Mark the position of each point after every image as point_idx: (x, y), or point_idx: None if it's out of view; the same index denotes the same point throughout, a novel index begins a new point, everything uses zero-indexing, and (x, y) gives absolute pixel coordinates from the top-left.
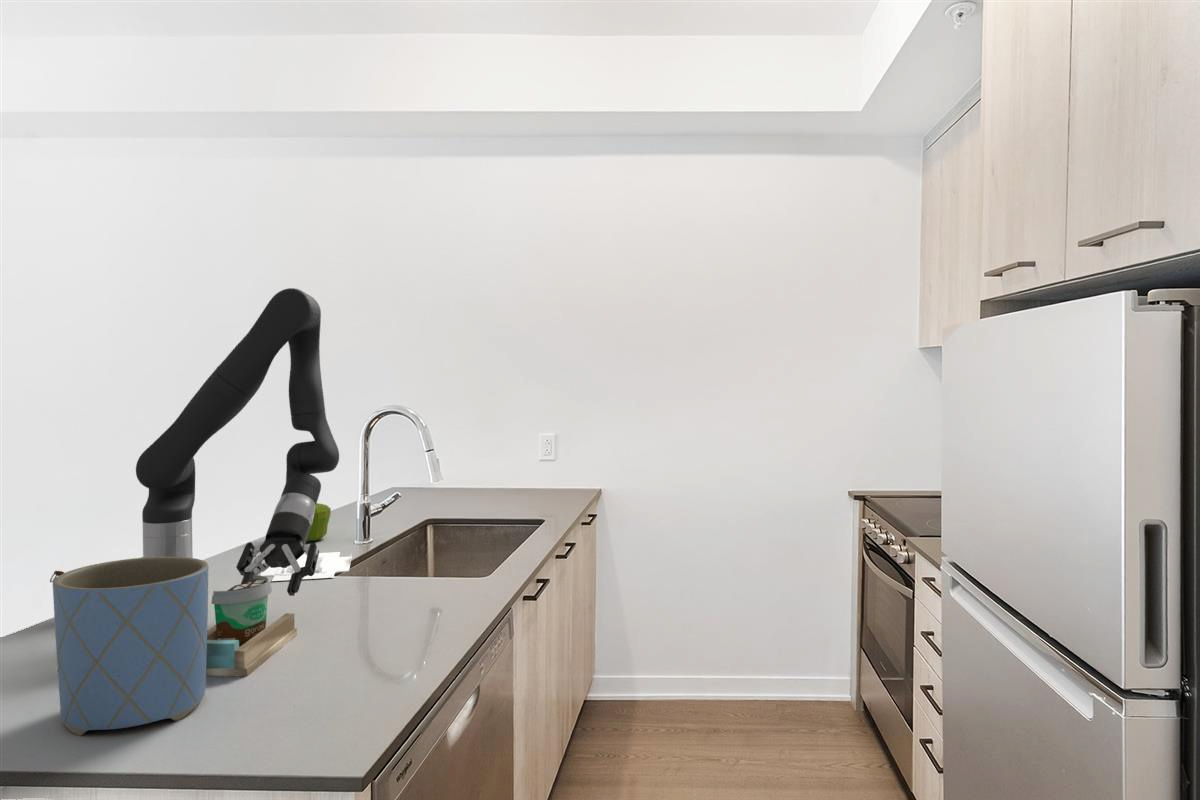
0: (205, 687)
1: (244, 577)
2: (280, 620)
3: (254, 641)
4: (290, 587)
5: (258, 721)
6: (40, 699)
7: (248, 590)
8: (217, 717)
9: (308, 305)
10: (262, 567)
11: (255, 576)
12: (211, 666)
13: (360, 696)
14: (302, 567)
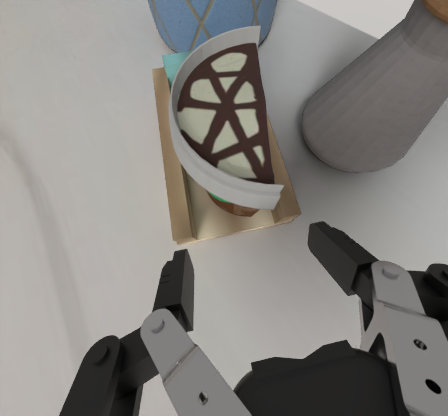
0: (162, 35)
1: (364, 253)
2: (176, 193)
3: (159, 98)
4: (176, 255)
5: (94, 32)
6: (318, 27)
7: (187, 64)
8: (134, 31)
9: None
10: (367, 342)
11: (271, 185)
12: None
13: (14, 83)
14: (140, 359)
